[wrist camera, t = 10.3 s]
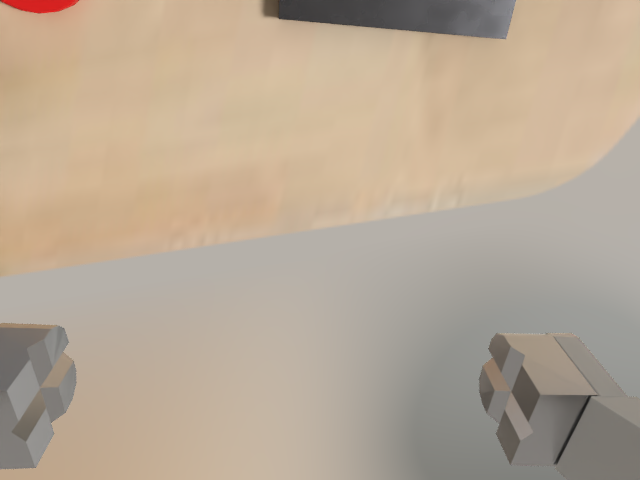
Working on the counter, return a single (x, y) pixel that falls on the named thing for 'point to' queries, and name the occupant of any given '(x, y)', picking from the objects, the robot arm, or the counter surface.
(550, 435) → the robot arm
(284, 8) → the fixed leaf
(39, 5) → the tow hook
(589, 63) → the counter surface
